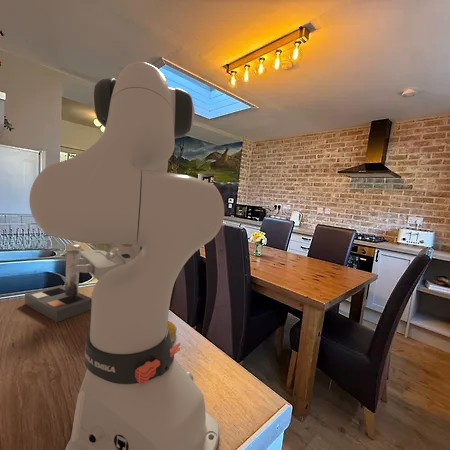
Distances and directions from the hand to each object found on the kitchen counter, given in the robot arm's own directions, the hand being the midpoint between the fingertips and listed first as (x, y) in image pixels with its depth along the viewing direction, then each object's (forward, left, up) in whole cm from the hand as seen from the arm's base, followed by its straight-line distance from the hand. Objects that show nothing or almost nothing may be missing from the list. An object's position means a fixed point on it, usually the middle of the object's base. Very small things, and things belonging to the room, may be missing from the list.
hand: (68, 266), depth 71 cm
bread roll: (-29, -6, -13) cm, 32 cm away
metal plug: (0, -1, -8) cm, 8 cm away
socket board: (+4, 0, -13) cm, 13 cm away
